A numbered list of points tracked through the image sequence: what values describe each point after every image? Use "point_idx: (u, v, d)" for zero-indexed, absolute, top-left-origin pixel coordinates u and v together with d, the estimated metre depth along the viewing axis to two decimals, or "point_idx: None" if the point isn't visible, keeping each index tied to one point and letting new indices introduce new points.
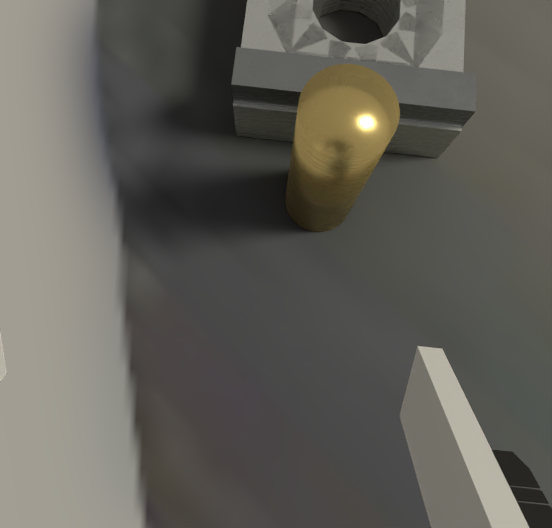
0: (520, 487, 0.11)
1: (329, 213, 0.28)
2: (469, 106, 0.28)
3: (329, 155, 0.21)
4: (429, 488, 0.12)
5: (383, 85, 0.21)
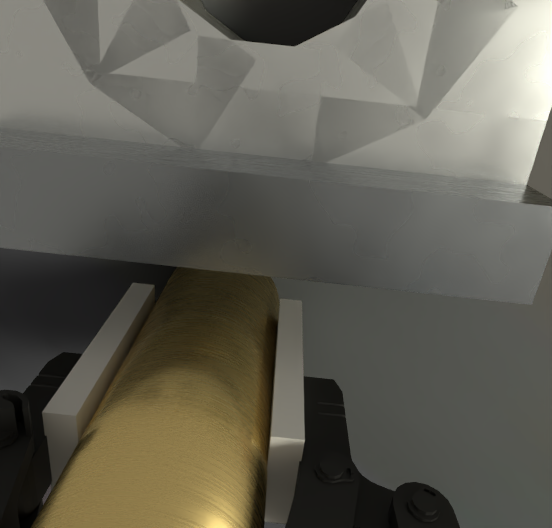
0: (326, 404, 0.13)
1: None
2: (520, 292, 0.11)
3: None
4: None
5: None
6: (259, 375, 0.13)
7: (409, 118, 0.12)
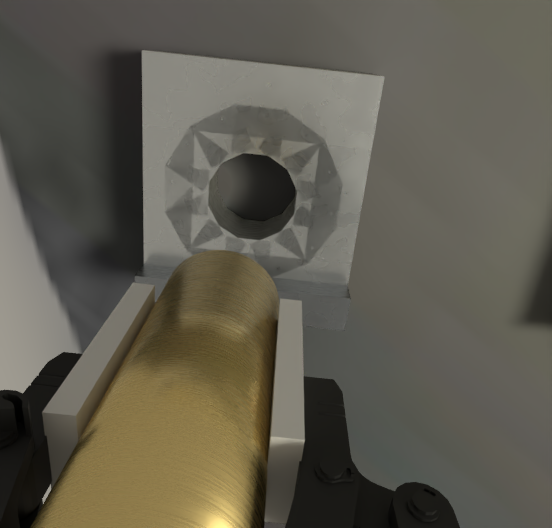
0: (326, 404, 0.13)
1: None
2: (340, 326, 0.32)
3: None
4: None
5: None
6: (259, 375, 0.13)
7: (302, 263, 0.33)
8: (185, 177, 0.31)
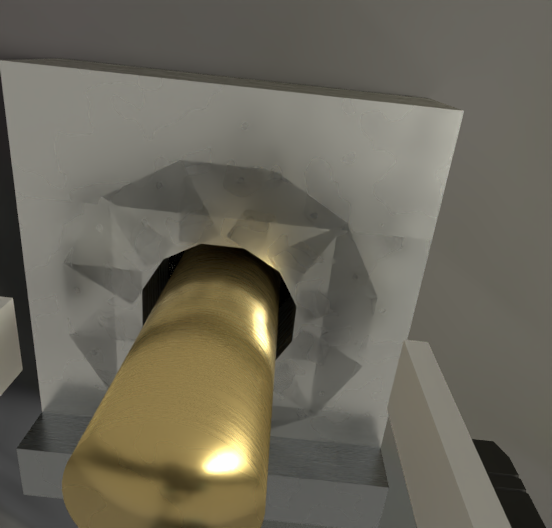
0: (499, 475, 0.11)
1: None
2: (369, 525, 0.19)
3: None
4: (413, 477, 0.13)
5: (232, 463, 0.10)
6: (266, 317, 0.15)
7: (305, 414, 0.19)
8: (100, 281, 0.17)
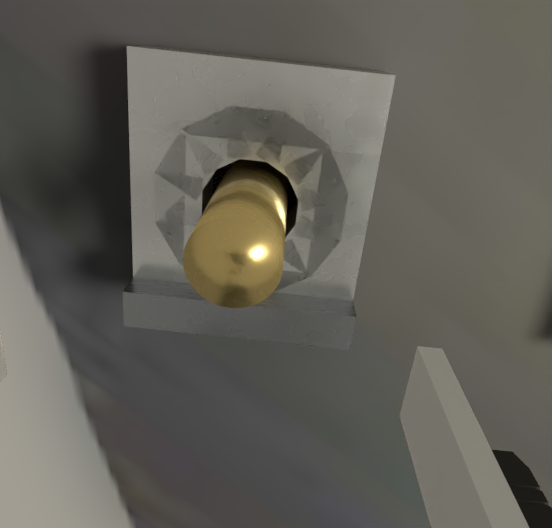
0: (520, 487, 0.11)
1: None
2: (344, 345, 0.30)
3: (217, 302, 0.22)
4: (429, 488, 0.12)
5: (267, 239, 0.21)
6: (280, 199, 0.26)
7: (303, 277, 0.30)
8: (176, 184, 0.28)
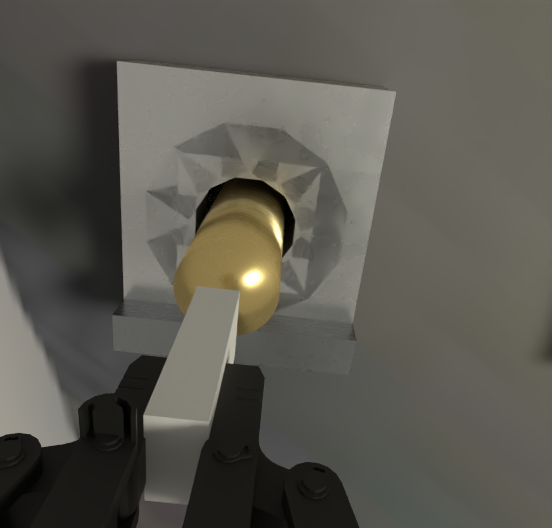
0: (246, 389, 0.13)
1: None
2: (344, 370, 0.29)
3: None
4: None
5: (263, 265, 0.19)
6: (276, 219, 0.25)
7: (301, 298, 0.29)
8: (169, 203, 0.27)
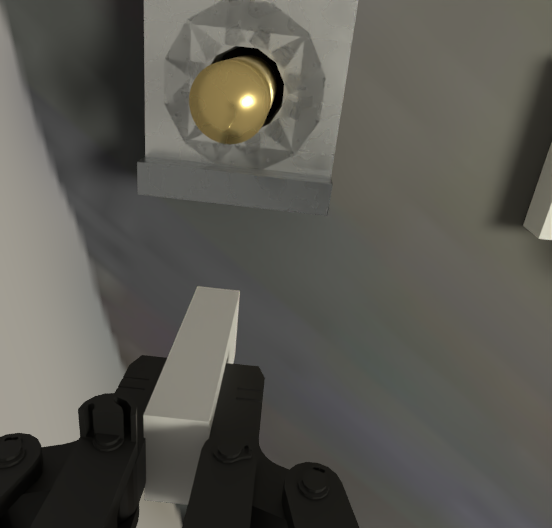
0: (246, 389, 0.13)
1: None
2: (323, 211, 0.35)
3: (215, 140, 0.28)
4: None
5: (255, 81, 0.26)
6: (268, 75, 0.32)
7: (289, 154, 0.36)
8: (182, 69, 0.34)
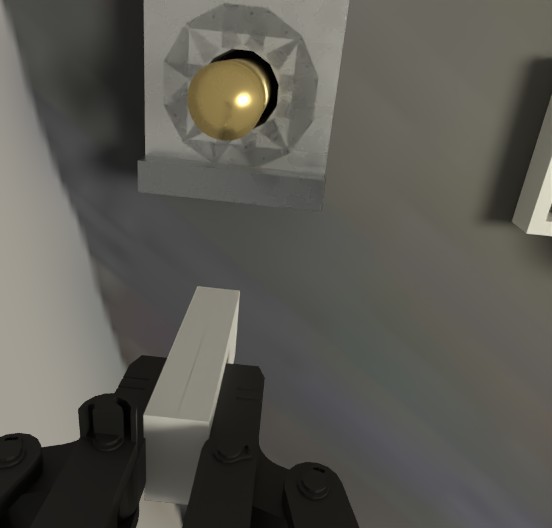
0: (246, 389, 0.13)
1: None
2: (317, 207, 0.37)
3: (212, 136, 0.29)
4: None
5: (250, 80, 0.28)
6: (263, 76, 0.33)
7: (284, 153, 0.37)
8: (181, 71, 0.35)
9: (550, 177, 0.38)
